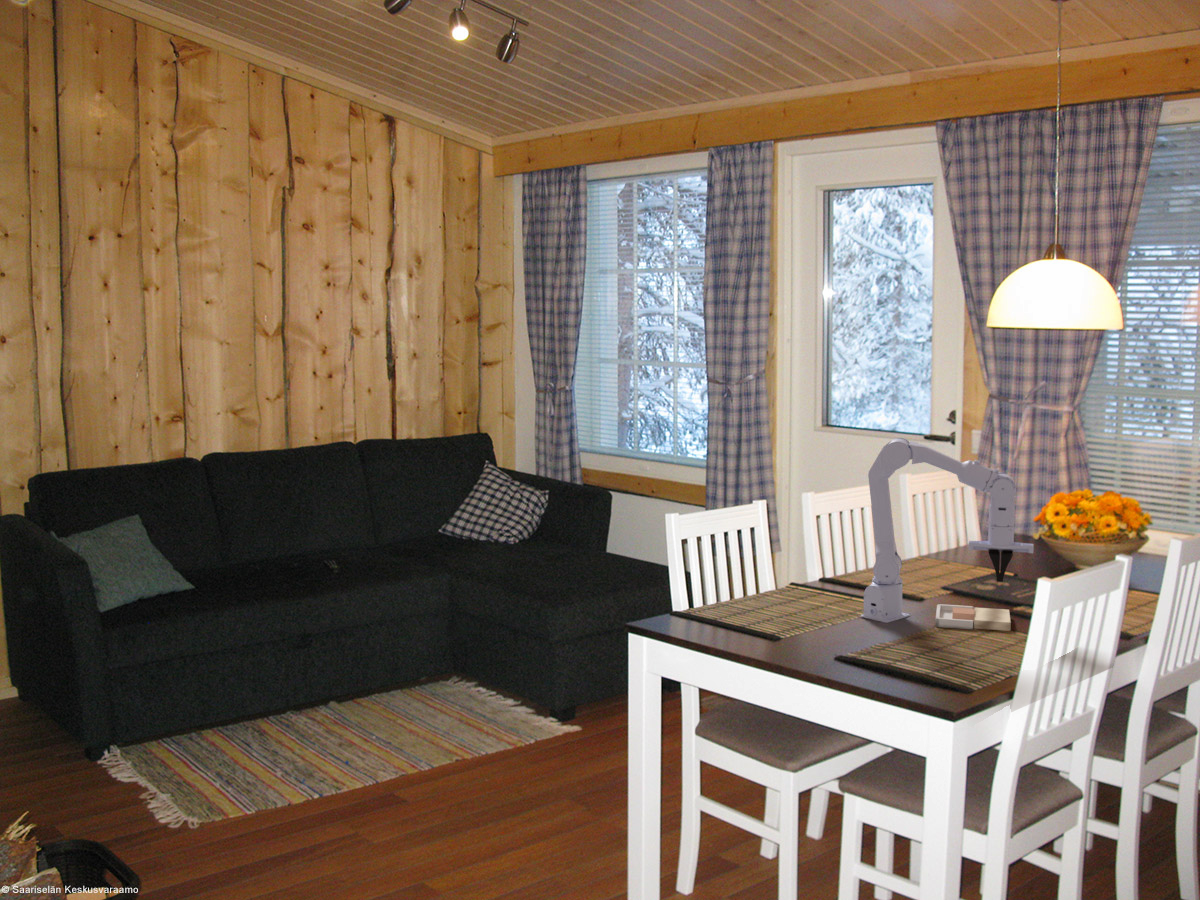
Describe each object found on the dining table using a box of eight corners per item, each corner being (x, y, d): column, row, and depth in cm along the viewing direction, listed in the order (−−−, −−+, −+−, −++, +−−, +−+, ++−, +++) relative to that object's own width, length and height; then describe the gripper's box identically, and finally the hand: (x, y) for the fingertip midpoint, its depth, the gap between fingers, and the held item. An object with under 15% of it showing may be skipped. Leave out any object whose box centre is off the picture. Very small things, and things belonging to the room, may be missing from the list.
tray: (935, 626, 264) (935, 618, 263) (937, 611, 277) (937, 603, 276) (973, 629, 261) (973, 621, 261) (972, 614, 274) (973, 606, 274)
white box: (974, 628, 262) (974, 620, 261) (974, 615, 273) (974, 607, 273) (1010, 630, 259) (1010, 622, 259) (1008, 617, 270) (1009, 609, 270)
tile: (952, 620, 267) (952, 612, 266) (952, 615, 271) (952, 607, 271) (974, 622, 265) (974, 614, 265) (974, 616, 270) (974, 608, 269)
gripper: (1033, 523, 264) (1031, 578, 266) (969, 520, 269) (967, 575, 270) (1034, 528, 258) (1032, 585, 259) (969, 525, 262) (967, 581, 264)
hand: (999, 580), depth 264 cm, fingers closed
